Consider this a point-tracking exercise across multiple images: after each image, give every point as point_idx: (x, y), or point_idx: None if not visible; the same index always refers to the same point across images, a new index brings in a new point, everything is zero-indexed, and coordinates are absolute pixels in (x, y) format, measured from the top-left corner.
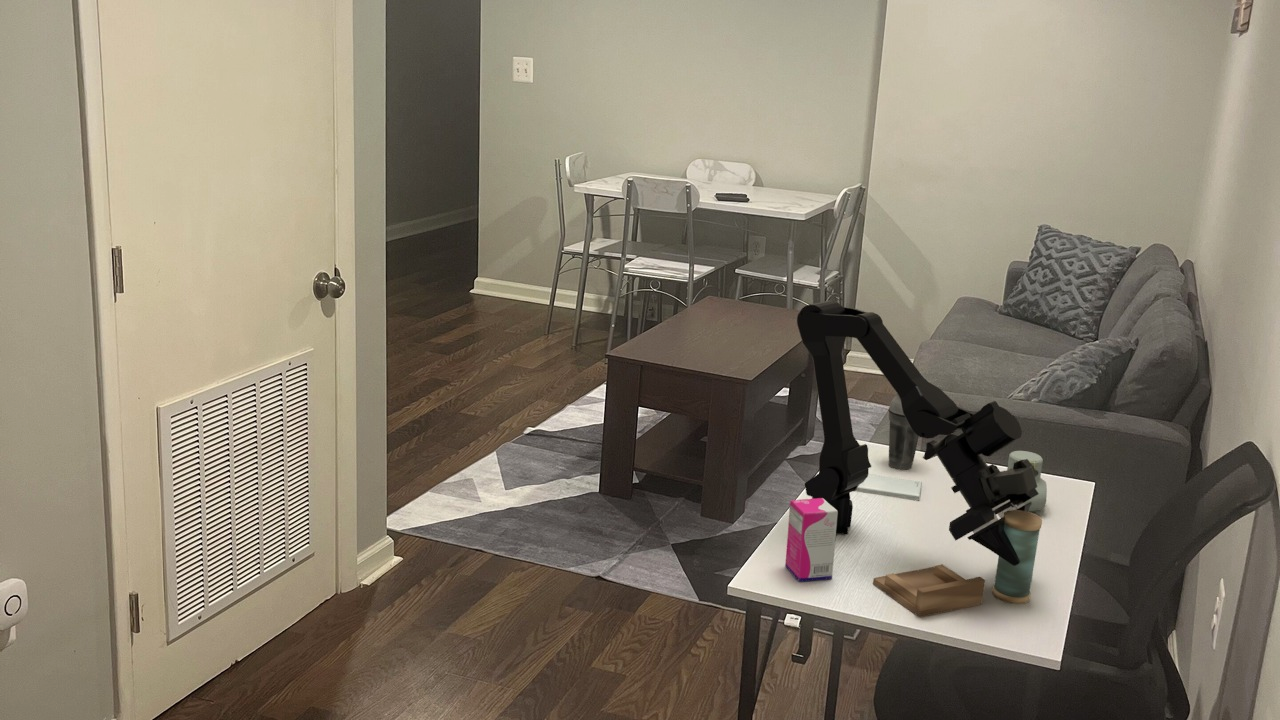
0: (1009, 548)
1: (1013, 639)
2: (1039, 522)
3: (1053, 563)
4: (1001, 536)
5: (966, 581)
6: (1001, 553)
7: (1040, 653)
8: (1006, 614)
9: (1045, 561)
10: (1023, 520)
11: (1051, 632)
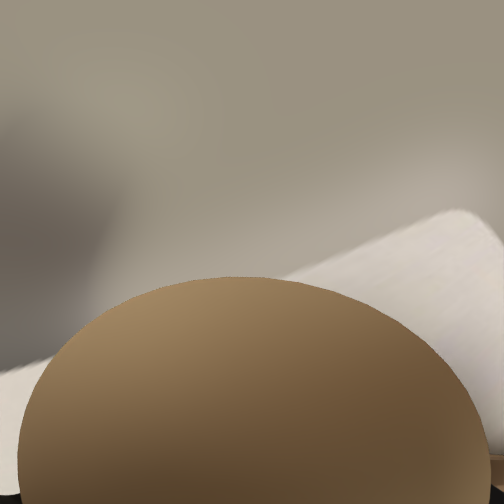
0: None
1: (486, 282)
2: (214, 295)
3: (24, 401)
4: (495, 488)
5: (491, 472)
6: None
7: (477, 218)
8: None
9: None
10: (347, 485)
11: (387, 245)
